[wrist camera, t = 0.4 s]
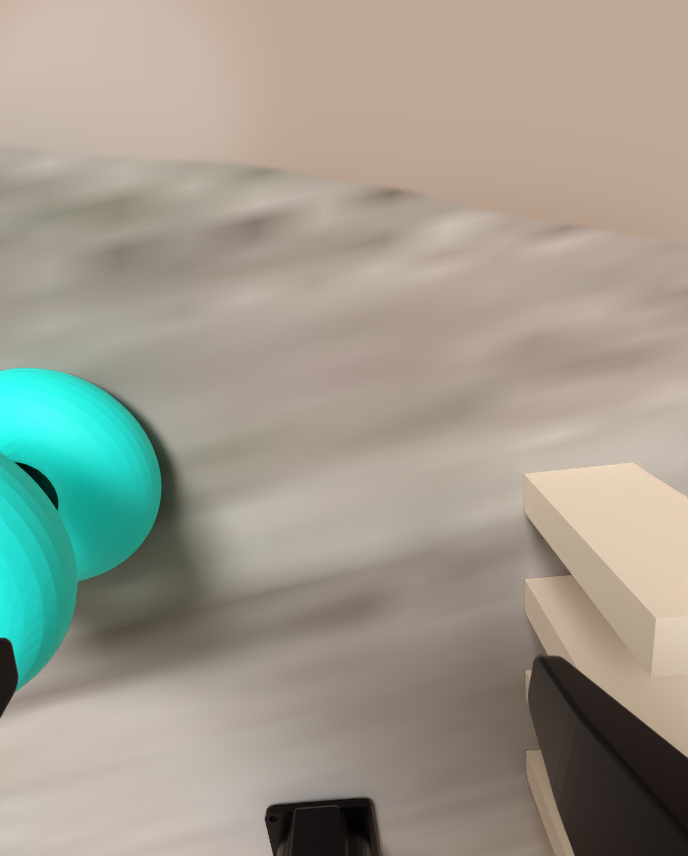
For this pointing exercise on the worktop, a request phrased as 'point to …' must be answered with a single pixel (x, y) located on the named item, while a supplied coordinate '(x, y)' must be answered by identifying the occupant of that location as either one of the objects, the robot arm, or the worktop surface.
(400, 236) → the worktop surface
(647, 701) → the ivory domino
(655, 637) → the ivory domino
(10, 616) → the turquoise lobed shape
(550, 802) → the ivory domino
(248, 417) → the worktop surface
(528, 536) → the worktop surface
